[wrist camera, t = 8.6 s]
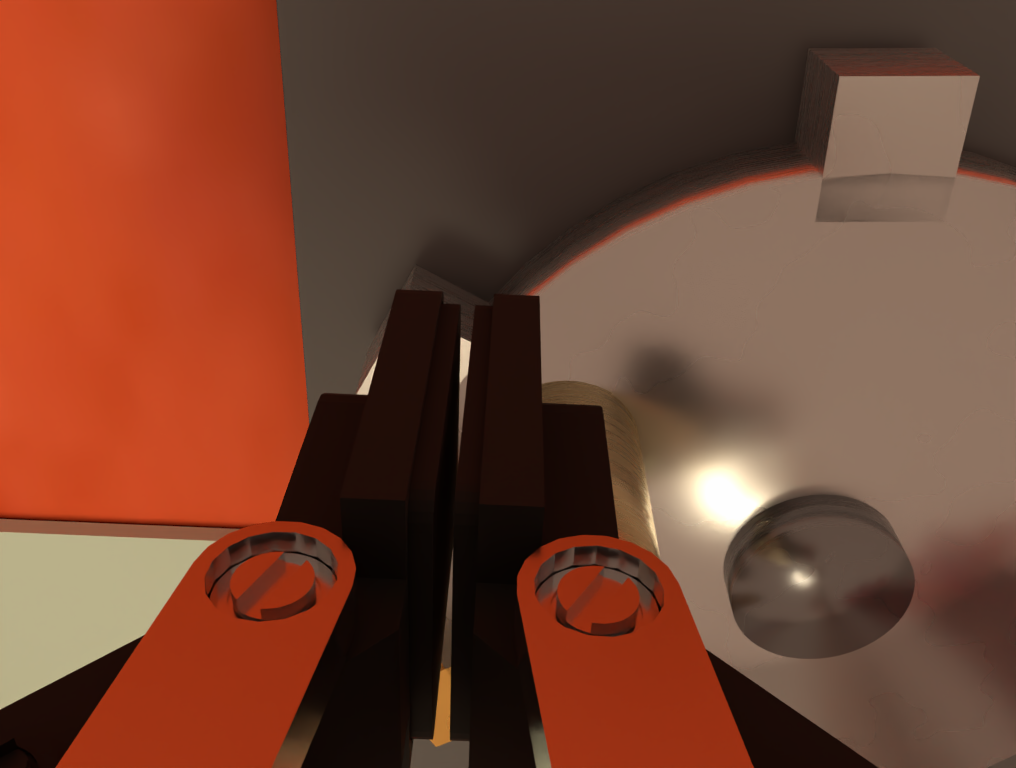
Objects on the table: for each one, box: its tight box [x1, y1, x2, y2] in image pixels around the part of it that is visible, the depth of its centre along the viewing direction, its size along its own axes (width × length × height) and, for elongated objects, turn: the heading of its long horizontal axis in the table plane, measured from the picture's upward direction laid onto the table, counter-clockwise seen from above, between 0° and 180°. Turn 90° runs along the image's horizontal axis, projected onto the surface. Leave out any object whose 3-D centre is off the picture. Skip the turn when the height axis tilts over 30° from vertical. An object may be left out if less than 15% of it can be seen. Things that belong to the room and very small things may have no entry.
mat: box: [0, 519, 239, 709], centre depth 22 cm, size 11×10×1 cm
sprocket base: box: [276, 0, 1016, 768], centre depth 19 cm, size 18×18×1 cm
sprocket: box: [356, 48, 1016, 768], centre depth 15 cm, size 15×17×8 cm
